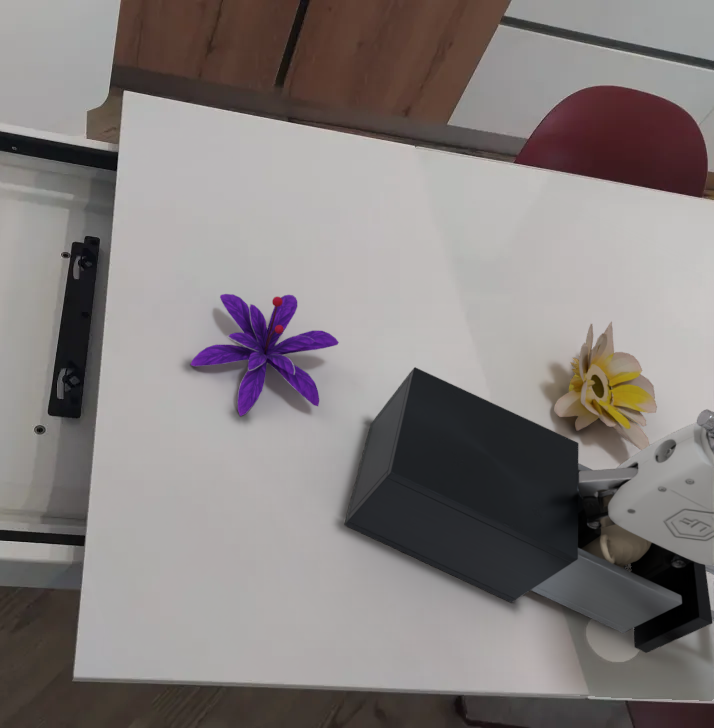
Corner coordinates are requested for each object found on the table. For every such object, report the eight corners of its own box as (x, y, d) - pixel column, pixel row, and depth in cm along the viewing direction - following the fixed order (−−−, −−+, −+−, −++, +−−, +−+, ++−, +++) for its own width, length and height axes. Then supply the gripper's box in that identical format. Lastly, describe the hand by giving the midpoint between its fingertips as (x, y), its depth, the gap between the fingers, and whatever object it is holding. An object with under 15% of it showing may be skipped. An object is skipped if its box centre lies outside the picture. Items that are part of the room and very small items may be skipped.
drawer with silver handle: (705, 577, 74) (769, 544, 68) (719, 687, 66) (793, 660, 60) (498, 481, 74) (545, 439, 68) (489, 580, 66) (540, 543, 60)
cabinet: (519, 492, 75) (578, 442, 68) (511, 602, 67) (578, 559, 59) (370, 423, 75) (414, 366, 68) (344, 525, 67) (390, 472, 59)
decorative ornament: (636, 566, 69) (678, 542, 65) (573, 588, 65) (614, 564, 61) (610, 527, 71) (649, 501, 67) (548, 546, 67) (585, 520, 63)
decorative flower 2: (629, 480, 78) (678, 410, 71) (528, 425, 82) (566, 355, 76) (662, 414, 88) (707, 348, 81) (570, 368, 92) (606, 303, 86)
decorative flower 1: (352, 328, 78) (372, 289, 72) (299, 448, 71) (316, 418, 65) (233, 275, 80) (242, 232, 73) (170, 388, 73) (173, 352, 66)
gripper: (659, 439, 52) (513, 548, 65) (884, 543, 51) (691, 630, 65) (652, 366, 57) (518, 481, 70) (857, 461, 56) (683, 558, 70)
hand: (602, 552), depth 67 cm, fingers closed on decorative ornament, 5 cm apart
